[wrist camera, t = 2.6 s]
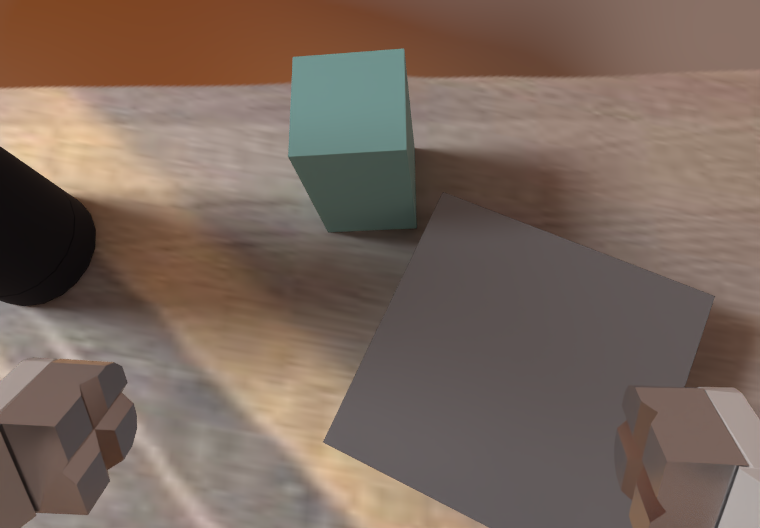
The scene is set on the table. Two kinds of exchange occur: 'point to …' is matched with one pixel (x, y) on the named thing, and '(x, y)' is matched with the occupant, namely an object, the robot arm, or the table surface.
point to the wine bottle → (39, 235)
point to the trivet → (514, 371)
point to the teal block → (354, 139)
